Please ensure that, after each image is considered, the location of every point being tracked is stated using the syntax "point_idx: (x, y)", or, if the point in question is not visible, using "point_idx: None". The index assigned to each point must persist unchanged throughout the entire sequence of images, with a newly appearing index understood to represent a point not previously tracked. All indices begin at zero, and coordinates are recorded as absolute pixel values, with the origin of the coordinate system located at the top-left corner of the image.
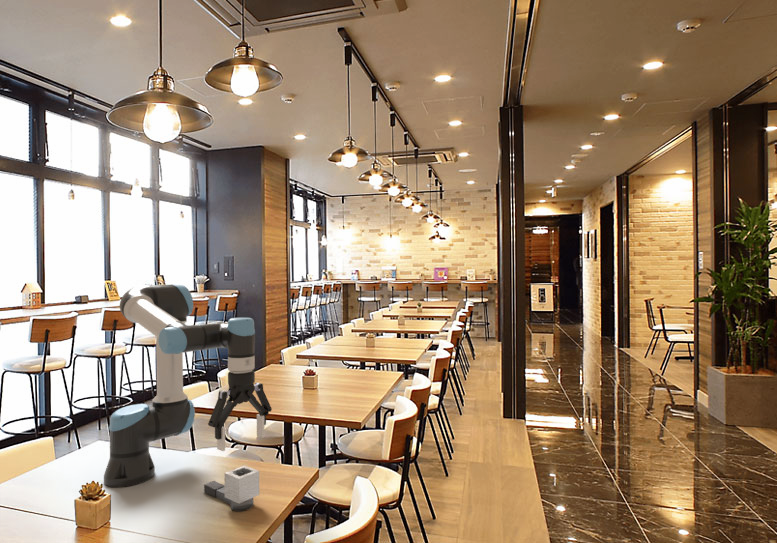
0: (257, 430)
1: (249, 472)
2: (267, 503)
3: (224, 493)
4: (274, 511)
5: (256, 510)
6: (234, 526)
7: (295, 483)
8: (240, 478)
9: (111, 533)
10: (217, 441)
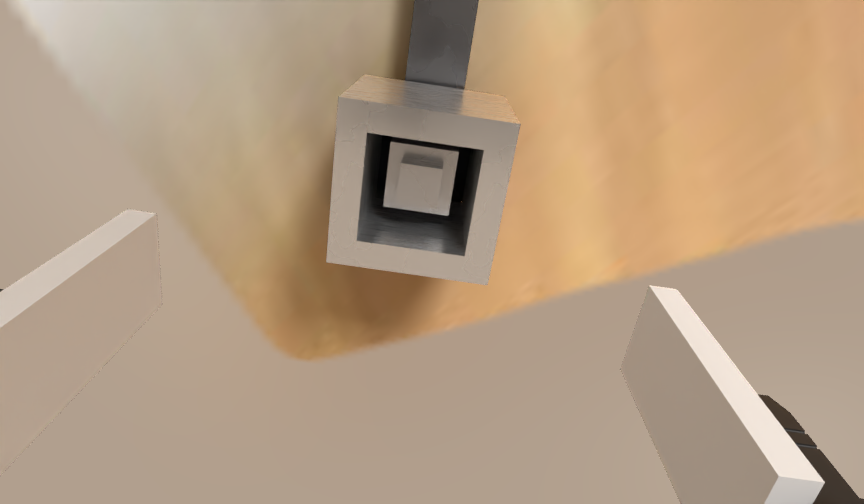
0: (668, 334)
1: (471, 208)
2: (513, 224)
3: (416, 11)
4: (466, 299)
5: None
6: (283, 242)
7: (767, 200)
8: (337, 263)
9: None
10: (75, 249)
